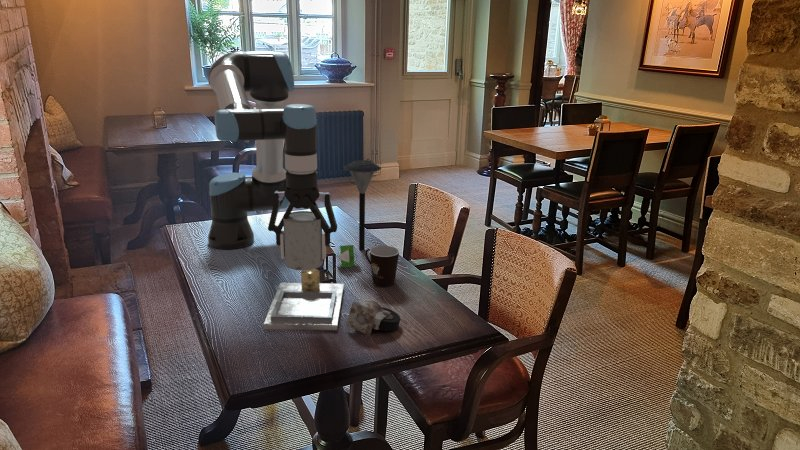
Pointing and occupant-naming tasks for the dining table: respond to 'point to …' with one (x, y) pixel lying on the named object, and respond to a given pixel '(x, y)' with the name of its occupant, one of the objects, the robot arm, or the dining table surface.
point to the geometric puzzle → (347, 256)
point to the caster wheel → (372, 317)
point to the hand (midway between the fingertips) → (303, 257)
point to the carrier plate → (306, 304)
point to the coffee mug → (383, 265)
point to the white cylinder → (303, 241)
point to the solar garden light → (362, 190)
